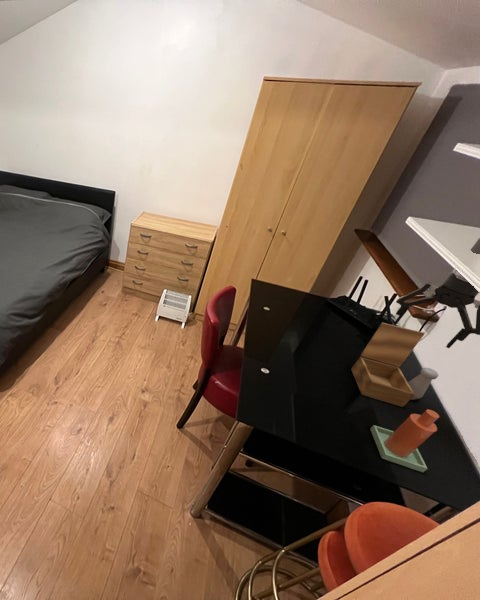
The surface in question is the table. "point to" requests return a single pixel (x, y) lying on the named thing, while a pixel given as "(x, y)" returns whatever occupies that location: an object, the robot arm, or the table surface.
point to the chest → (382, 381)
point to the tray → (411, 461)
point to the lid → (392, 344)
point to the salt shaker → (422, 382)
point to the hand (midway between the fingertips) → (420, 334)
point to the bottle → (412, 433)
